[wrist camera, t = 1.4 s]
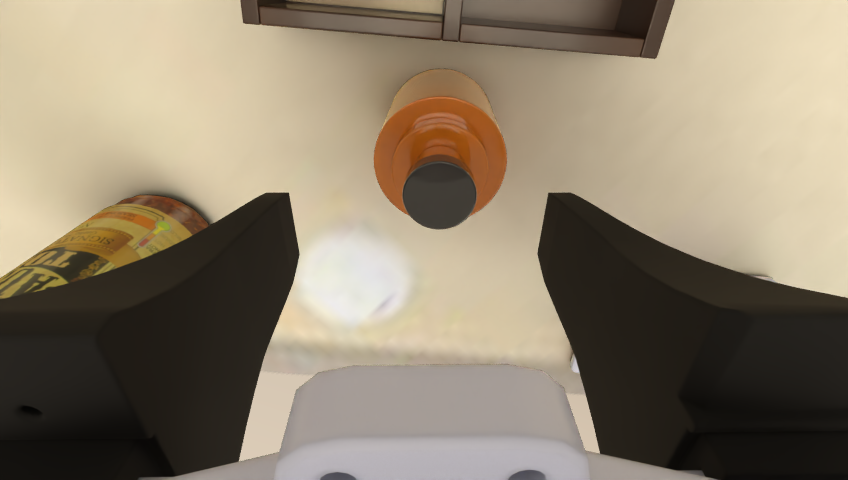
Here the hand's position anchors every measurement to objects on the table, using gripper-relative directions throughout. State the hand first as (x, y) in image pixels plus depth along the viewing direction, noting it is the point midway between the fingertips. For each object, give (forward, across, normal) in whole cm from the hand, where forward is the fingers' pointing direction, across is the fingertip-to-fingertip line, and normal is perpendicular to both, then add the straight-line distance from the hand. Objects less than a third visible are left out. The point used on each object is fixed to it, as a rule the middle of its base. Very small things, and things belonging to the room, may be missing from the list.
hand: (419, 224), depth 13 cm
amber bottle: (+10, -1, 0) cm, 10 cm away
